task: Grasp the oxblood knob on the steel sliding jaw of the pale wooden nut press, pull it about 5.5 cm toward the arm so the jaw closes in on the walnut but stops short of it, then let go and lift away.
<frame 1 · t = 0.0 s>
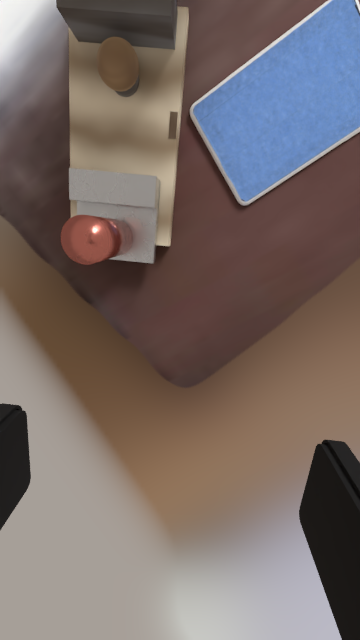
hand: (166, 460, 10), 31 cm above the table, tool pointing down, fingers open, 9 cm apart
tablet computer: (288, 110, 34), on the table
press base: (127, 139, 35), on the table
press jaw: (105, 217, 30), point 8 cm above the table, slide at 0.0 cm
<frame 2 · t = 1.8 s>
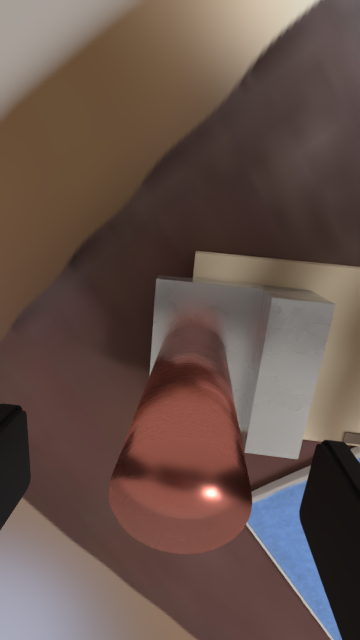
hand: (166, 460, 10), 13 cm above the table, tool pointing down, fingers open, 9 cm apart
tablet computer: (346, 542, 27), on the table
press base: (349, 353, 21), on the table
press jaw: (232, 398, 14), point 8 cm above the table, slide at 0.0 cm
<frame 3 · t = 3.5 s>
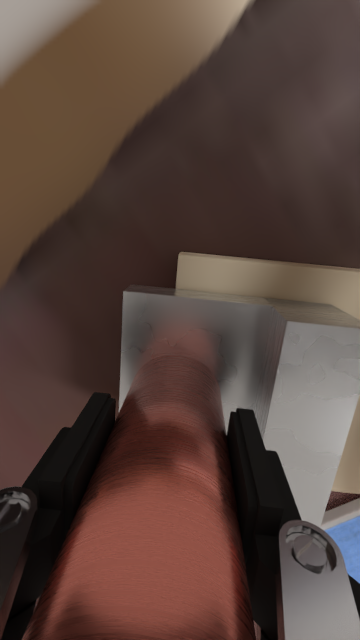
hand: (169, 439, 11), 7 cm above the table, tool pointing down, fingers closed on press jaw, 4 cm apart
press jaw: (230, 474, 9), point 8 cm above the table, slide at 0.0 cm, touching gripper
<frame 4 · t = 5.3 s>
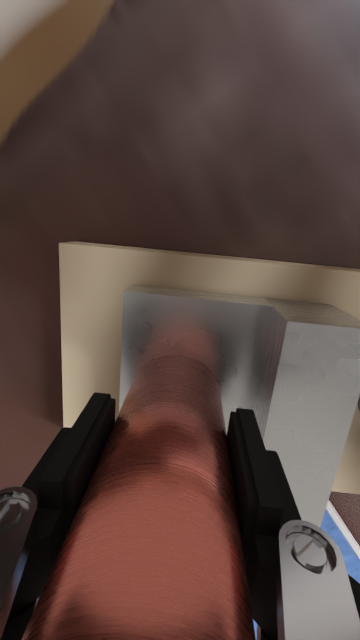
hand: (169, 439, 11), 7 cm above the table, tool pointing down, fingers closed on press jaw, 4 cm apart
tablet computer: (289, 587, 23), on the table
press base: (277, 370, 17), on the table
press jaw: (230, 474, 9), point 8 cm above the table, slide at 5.5 cm, touching gripper
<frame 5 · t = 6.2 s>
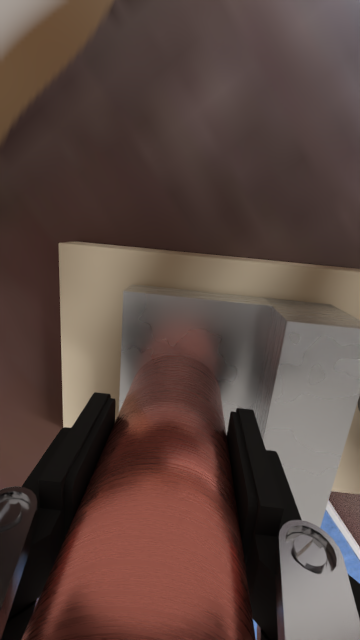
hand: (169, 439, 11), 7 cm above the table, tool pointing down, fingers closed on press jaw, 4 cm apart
tablet computer: (289, 587, 23), on the table
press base: (277, 370, 17), on the table
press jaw: (230, 474, 9), point 8 cm above the table, slide at 5.5 cm, touching gripper
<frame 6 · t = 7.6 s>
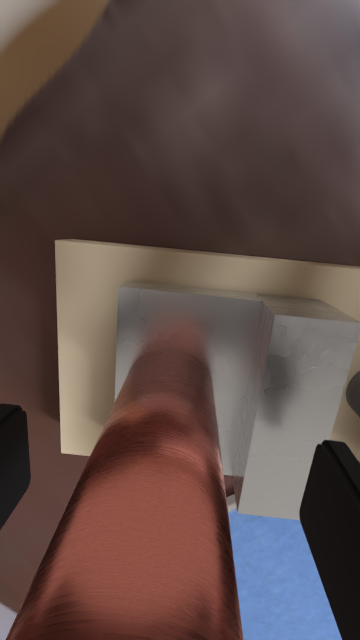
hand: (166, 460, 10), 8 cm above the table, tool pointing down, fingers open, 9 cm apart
tablet computer: (282, 577, 23), on the table
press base: (269, 364, 17), on the table
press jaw: (220, 460, 10), point 8 cm above the table, slide at 5.5 cm
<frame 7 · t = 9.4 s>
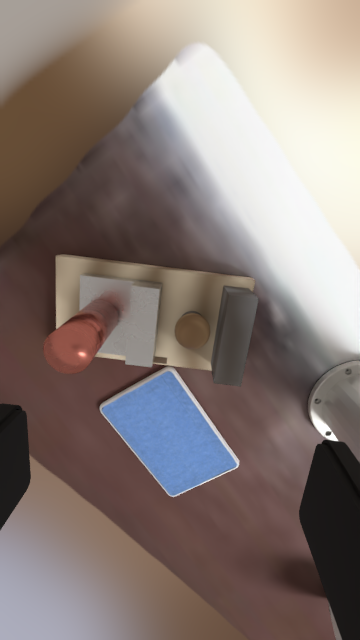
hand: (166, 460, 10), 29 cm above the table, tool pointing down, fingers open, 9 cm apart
tablet computer: (171, 431, 44), on the table
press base: (152, 313, 38), on the table
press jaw: (109, 331, 30), point 8 cm above the table, slide at 5.5 cm
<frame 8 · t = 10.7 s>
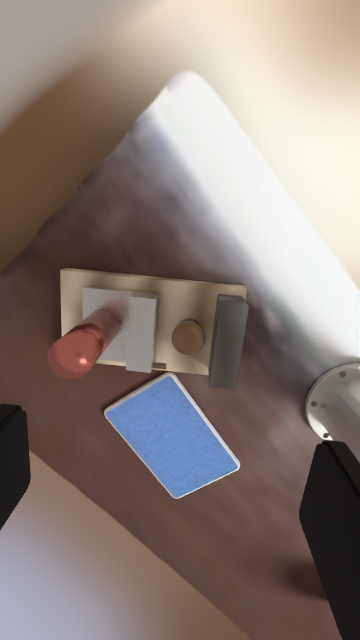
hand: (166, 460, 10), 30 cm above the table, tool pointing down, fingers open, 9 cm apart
tablet computer: (173, 435, 46), on the table
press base: (152, 321, 40), on the table
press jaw: (109, 339, 33), point 8 cm above the table, slide at 5.5 cm
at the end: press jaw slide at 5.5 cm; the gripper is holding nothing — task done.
